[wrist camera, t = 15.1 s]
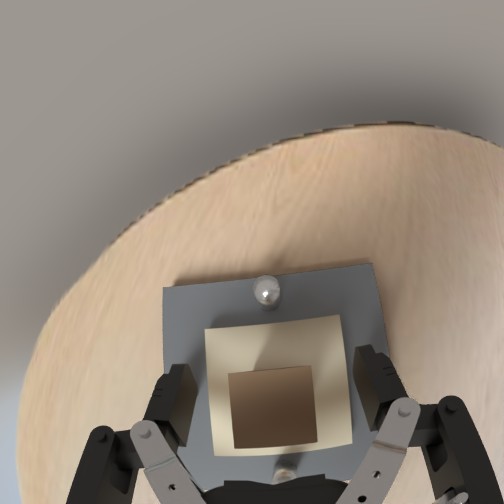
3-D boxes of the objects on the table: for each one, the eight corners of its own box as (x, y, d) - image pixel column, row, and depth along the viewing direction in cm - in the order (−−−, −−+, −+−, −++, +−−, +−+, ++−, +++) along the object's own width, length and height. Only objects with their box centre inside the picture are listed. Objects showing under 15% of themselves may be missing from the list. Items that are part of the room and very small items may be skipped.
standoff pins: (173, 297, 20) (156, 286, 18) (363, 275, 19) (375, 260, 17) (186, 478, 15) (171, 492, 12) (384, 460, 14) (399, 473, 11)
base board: (170, 292, 22) (162, 287, 21) (366, 269, 21) (372, 262, 20) (183, 480, 16) (176, 486, 14) (389, 461, 14) (395, 467, 13)
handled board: (208, 331, 19) (152, 301, 11) (336, 317, 18) (375, 276, 10) (217, 451, 15) (168, 504, 7) (349, 439, 15) (395, 487, 7)
